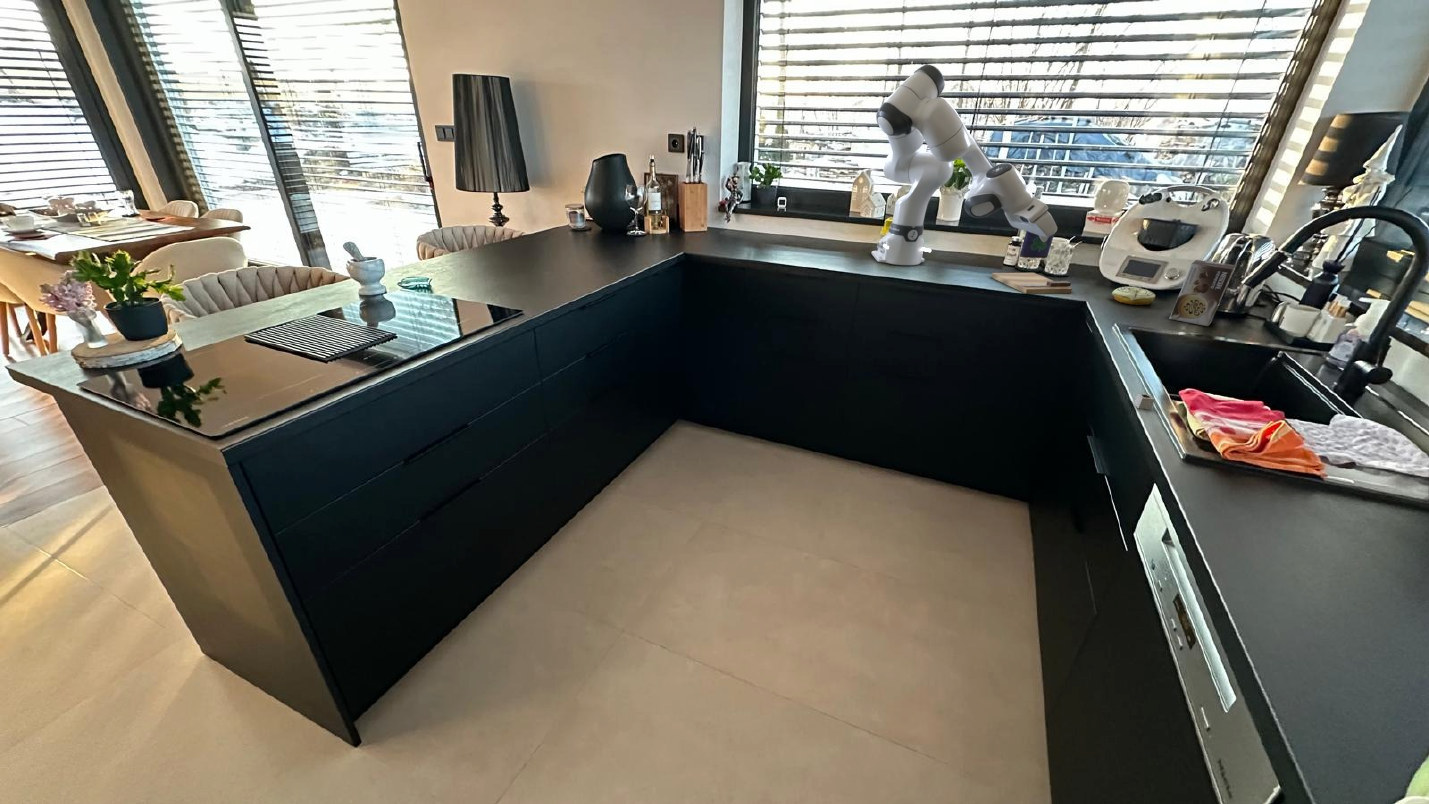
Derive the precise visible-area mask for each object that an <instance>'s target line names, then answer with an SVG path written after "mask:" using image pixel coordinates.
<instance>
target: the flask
mask: <svg viewBox="0 0 1429 804" xmlns="http://www.w3.org/2000/svg"><path fill="white" fill-rule="evenodd" d="M1055 234H1056V232H1055V233H1054V234H1053V235H1052V236H1050V237H1049V238H1048V240H1047V241H1045V242H1041V241H1040V240H1039V235H1037V234H1034V233H1031V232H1029V231H1025V235H1024V238H1023V242H1022V246H1021V249H1020V253H1019V257H1020V258H1023V259H1024V258H1025V259H1027V258H1028V259H1047V258H1048V257H1049V253H1050V250H1051V246H1052V244H1053V241H1054V237H1055Z"/></svg>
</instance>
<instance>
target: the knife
mask: <svg viewBox="0 0 1429 804" xmlns="http://www.w3.org/2000/svg"><path fill="white" fill-rule="evenodd" d="M1071 285H1072V282H1070V281H1068V280H1053V281H1047V284H1022V286H1024V287H1045V286H1050V287H1056V286H1067V287H1071Z"/></svg>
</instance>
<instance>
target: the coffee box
mask: <svg viewBox="0 0 1429 804" xmlns="http://www.w3.org/2000/svg"><path fill="white" fill-rule="evenodd" d="M1189 266H1190V267H1189V269H1188V271H1187V275H1186V277H1185V279H1184V281H1183V284H1182V286H1181V290H1180V292H1179V294H1178V296H1177V299H1176V301H1175V303H1174V306H1173V309H1172V310H1171V314H1170V316H1169V318H1168V319H1169V320H1174V321H1178V322H1185V323H1189V324H1195V325H1200V326H1204V327H1209V326H1210V325H1211V323H1212V321H1213V319H1214V317H1215V315H1216V312H1217V310H1218V308H1219V306H1220V302H1221V301H1222V299H1223V296H1224V294H1225V291H1226V289H1227V287H1228V285H1229V283H1230V280H1231V278H1232V276H1233V273H1234V271H1235V270H1236V267H1237V265H1236V264H1230V263H1229V264H1228V263H1223V262H1215V261H1208V260H1202V259H1201V260H1200V259H1195V260H1193V262H1192V263H1191V264H1190V265H1189Z"/></svg>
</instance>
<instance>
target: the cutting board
mask: <svg viewBox="0 0 1429 804" xmlns="http://www.w3.org/2000/svg"><path fill="white" fill-rule="evenodd" d="M990 278H991V279H994V280H996V281H998V282H1000V283H1002V284H1004V285H1006V286H1008V287H1011V288H1013V289H1015V290H1017V291H1019V292H1021V293H1023V294H1026V295H1027V294H1029V295H1030V294H1071V293H1072V291H1073V288H1072V287H1071V286H1056V287H1050V286H1045V287H1024V286H1022V284H1047V281H1054V280H1053V279H1050V278H1048V277H1046V276H1043V275H1040V274H1037V273H1036V272H992V273H991V276H990Z"/></svg>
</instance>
